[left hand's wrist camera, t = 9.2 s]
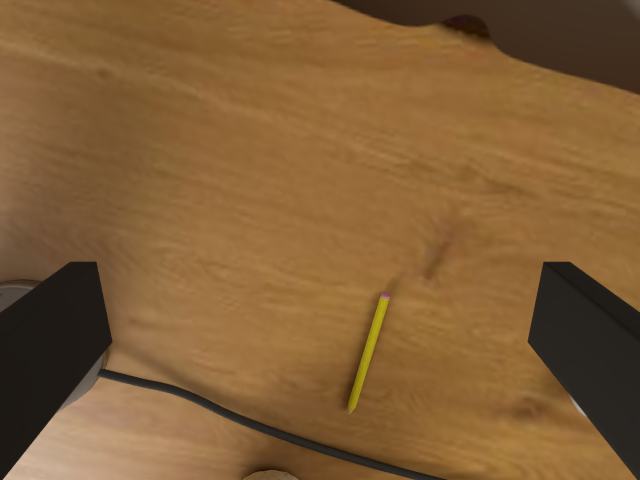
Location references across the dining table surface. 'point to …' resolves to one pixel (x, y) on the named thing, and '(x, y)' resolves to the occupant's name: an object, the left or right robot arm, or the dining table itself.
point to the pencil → (368, 350)
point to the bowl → (270, 475)
